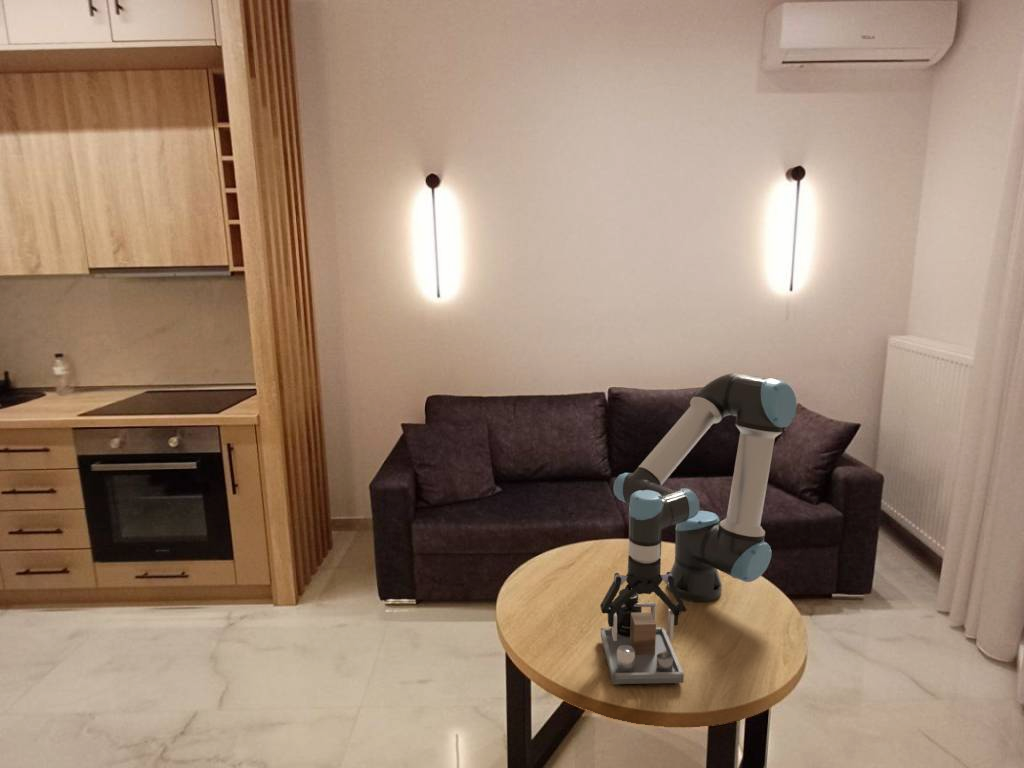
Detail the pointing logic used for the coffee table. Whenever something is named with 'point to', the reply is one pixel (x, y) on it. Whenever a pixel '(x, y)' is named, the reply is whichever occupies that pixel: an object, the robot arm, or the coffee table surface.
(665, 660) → the silver metal dome
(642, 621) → the walnut block
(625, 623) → the supplement bottle
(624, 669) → the silver rounded piece
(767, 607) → the coffee table surface
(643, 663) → the grey tray with handle
